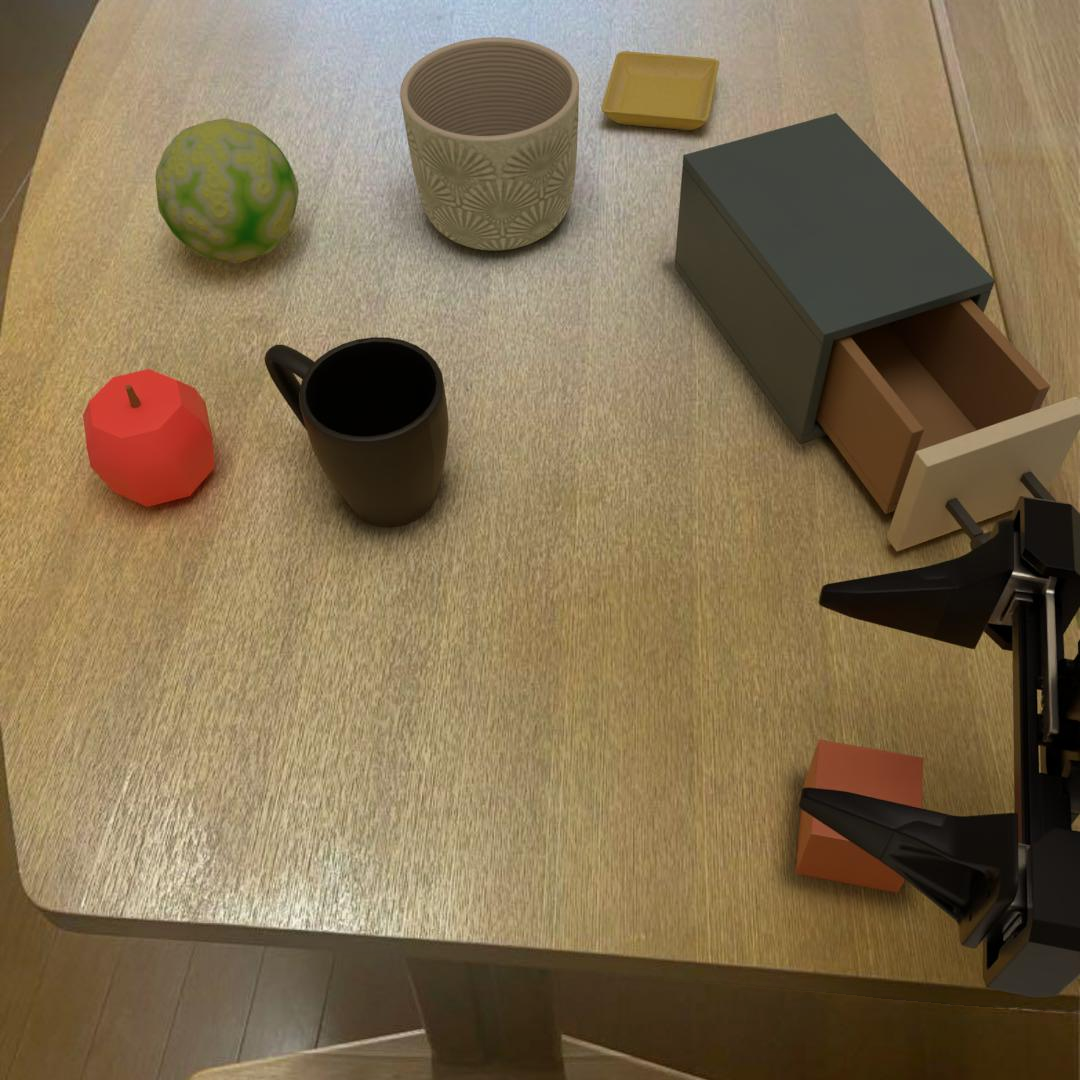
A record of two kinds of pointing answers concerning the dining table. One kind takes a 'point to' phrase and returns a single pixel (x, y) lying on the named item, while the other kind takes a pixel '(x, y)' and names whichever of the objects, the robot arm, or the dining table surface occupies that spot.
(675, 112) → the saucer
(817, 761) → the block
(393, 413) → the mug
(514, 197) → the planter
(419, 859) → the dining table surface
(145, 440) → the apple
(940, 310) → the drawer
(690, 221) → the cabinet
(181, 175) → the decorative ball
